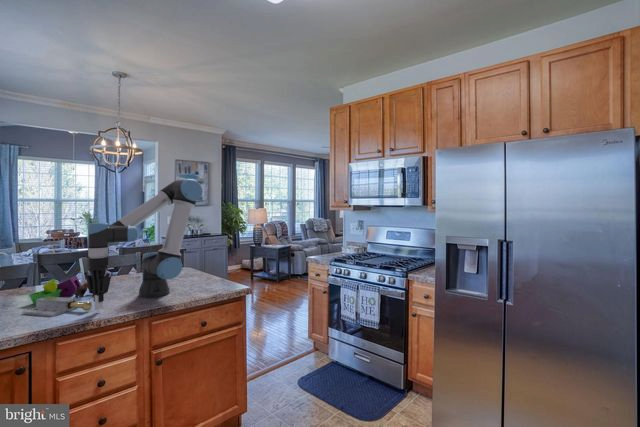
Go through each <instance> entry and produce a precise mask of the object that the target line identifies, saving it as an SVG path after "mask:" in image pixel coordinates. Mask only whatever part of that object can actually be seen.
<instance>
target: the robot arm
mask: <svg viewBox="0 0 640 427" xmlns="http://www.w3.org/2000/svg"><path fill="white" fill-rule="evenodd" d="M202 196H203V187H202V185H201V184H200V182H199V181H197V180H195V179H192V178H191V179H190V178H186V179H177V180H174V181H172V182H171V183H169V184H168V185H166V186H165V187H163V188H162V189H160V190H159V191H158V193H157V194H156V195H155V196H153V197H151V198H150V199H149V200H147V201H145V202H144V203H142V204H140V205H139V206H138V207H136V208H135V209H133V210H132V211H129V212H128V213H126V214H125V215H124V216H122V217H120V218H119V219H118V220H116V221H114V222H113V223H111V224H108V222H91V223H89V224H88V228H87V229H88V230H87V236H88V237H87V238H88V240H87V241H88V250H87V253H88V254H87V256H88V258H87V259H88V261H87V263H88V264H87V265H88V267H89V268H88V271H85V272H84V273H83V274H84V276H85V279H86V283H87V284H88V288H89V289H88V288H87V289H88V293H89V294H92V295H93V302H94V310H95V311H98V310H102V309H103V303H104V300H105V298H104V297H105V296H104V294H107V293H108V292H109V288H110V282H111V278H112V276H113V275H114V272H111V271H109V268H108V265H109V244H112V243H113V244H115V243H130V242H135V241H136V240H137V239H138V229H137V226H139V225H140V224H141V223H143V222H145V221H146V220H148V219H149V218H151V217H152V216H153V215H156V214H157V213H158V212H159V211H161V210H162V209H164V208H165V207H167V206H172V205H173V204H174V206H173V209H172V212H171V213H172V214H171V216H170V220H169V223H168V227H167V230H166V234H165V238H164V242H163V245H162V248H160V249H159V250H158V251H157V252H156V251H155V252H146V253H144V254H142V257H141V258H142V259H141V263H142V264H141V265H142V268H141V269H142V272H141V274H142V277H141V278H142V279H141V280H142V281H141V284H140V287H139V290H138V296H139V297H140V298H156V297H157V298H158V297H162V296H166V295H168V294H170V291H171V290H170V286H169V283H168V280H174V279H176V278H177V277H178V276H179V275H180V274H181V272H182V270H183V263H182V261H181V259H182V253H181V251H180V250H181V248H182V244H183V240H184V238H185V233H186V229H187V226H188V222H189V219H190V215H191V212H192V211H191V210H192V209H193V208H195V207H196V204H197V201H198V200H200V199H201V197H202Z"/></svg>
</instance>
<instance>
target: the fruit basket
mask: <svg viewBox="0 0 640 427" xmlns="http://www.w3.org/2000/svg"><path fill="white" fill-rule="evenodd" d="M57 284H58V283H57V280H56V279H55V278H54V279H50V280H49V281H47V282H46V283H45V284H43V287H42V288H43V290H40V291H37V292H34V293H33V292H32V293H29V297H30V300H31V303H32V304H33V305H36V300H37V299H40V298H44V297H60V292H61V290H62V289H57Z"/></svg>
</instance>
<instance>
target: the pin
mask: <svg viewBox="0 0 640 427" xmlns="http://www.w3.org/2000/svg"><path fill="white" fill-rule="evenodd" d="M84 302H85V303H72V302H69V303H68V307H71V308H77V309H82V310H83V311H90V310H91V308H92V306H93V303H92V302H91V301H84Z"/></svg>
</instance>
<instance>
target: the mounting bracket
mask: <svg viewBox="0 0 640 427" xmlns="http://www.w3.org/2000/svg"><path fill="white" fill-rule="evenodd" d="M81 285H82V283H81V281H80V279H79V278H78V276H77V275H74V276H71V277H70V278H68V279H65V280H63V281H60V282H58V283H57V289H62V290H61V292H60V295H59V297H63V298H71V297H72V296H73V295H76V292H77V289H78V288H79V287H80V286H81Z"/></svg>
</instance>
